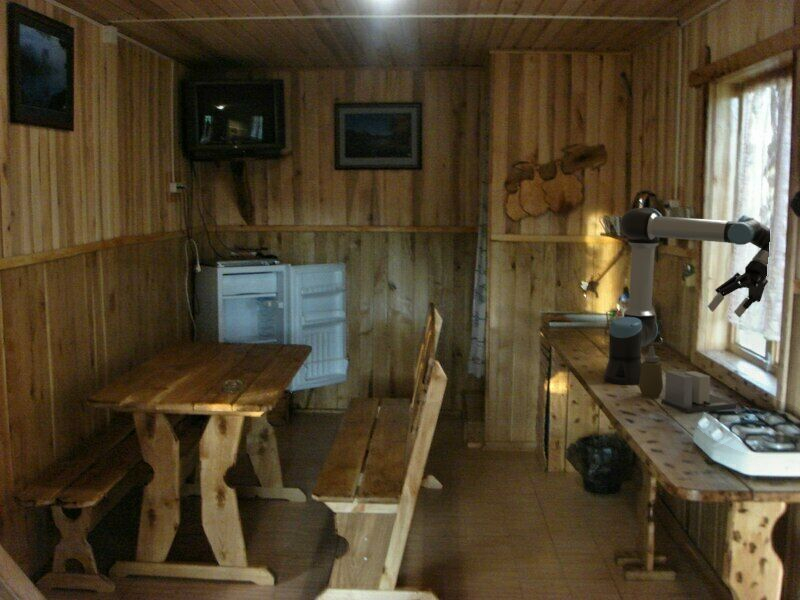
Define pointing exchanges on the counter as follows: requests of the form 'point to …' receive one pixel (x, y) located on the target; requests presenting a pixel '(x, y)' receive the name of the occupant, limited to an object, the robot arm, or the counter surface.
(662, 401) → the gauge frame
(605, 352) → the counter surface
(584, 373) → the counter surface
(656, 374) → the squeeze bottle
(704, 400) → the block
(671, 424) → the counter surface
